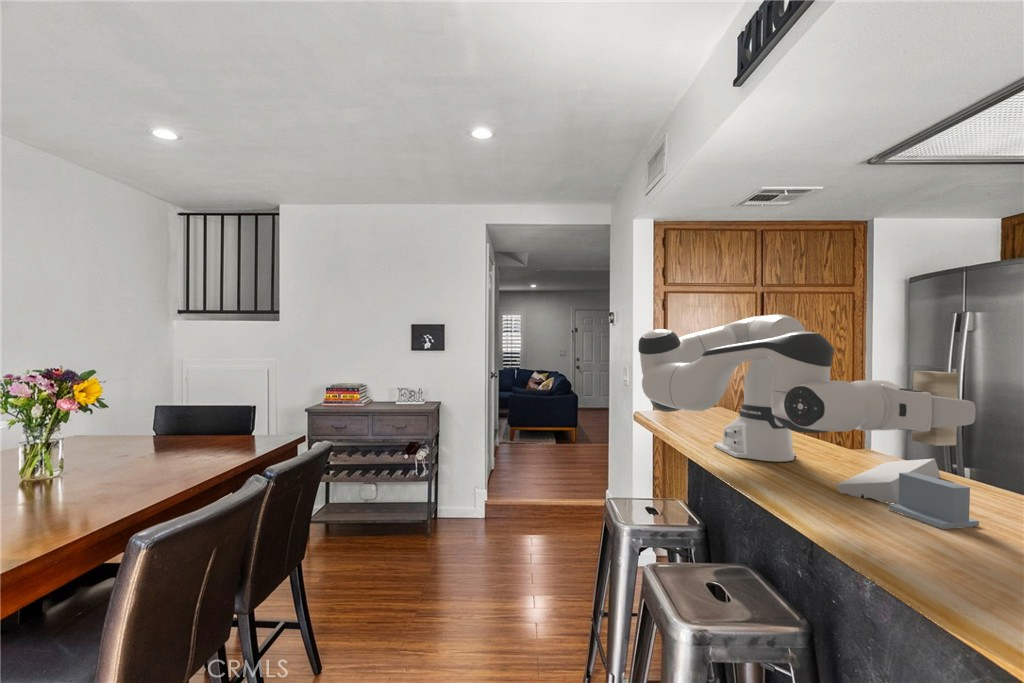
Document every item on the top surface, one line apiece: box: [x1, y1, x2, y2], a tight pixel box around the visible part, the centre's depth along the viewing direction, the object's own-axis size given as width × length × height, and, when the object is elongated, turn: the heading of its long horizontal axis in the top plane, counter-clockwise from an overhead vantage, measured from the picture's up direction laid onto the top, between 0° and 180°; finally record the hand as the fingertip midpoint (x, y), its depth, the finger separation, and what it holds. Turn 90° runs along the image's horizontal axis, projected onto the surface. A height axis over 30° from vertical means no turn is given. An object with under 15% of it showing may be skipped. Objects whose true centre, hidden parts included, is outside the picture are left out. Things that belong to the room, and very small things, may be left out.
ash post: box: [911, 370, 959, 447], centre depth 94 cm, size 4×4×13 cm
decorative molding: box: [835, 458, 941, 504], centre depth 116 cm, size 34×5×10 cm
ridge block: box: [888, 472, 980, 530], centre depth 94 cm, size 10×8×7 cm
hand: (938, 404), depth 94 cm, fingers closed on ash post, 4 cm apart
